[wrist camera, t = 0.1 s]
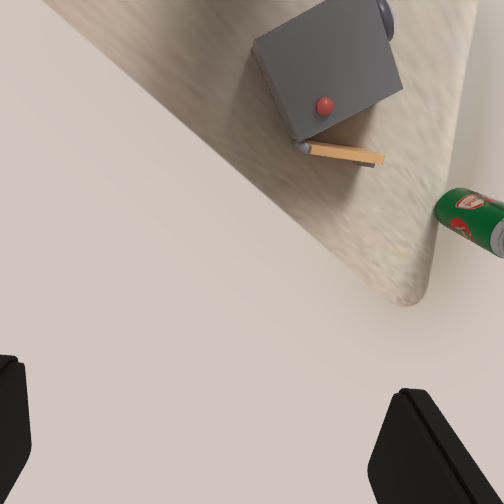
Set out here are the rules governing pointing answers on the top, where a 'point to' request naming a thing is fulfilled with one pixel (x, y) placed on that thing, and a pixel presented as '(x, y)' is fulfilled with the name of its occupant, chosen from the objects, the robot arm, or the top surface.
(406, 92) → the top surface
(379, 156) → the side door
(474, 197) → the soda can
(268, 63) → the camera body
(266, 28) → the top surface
